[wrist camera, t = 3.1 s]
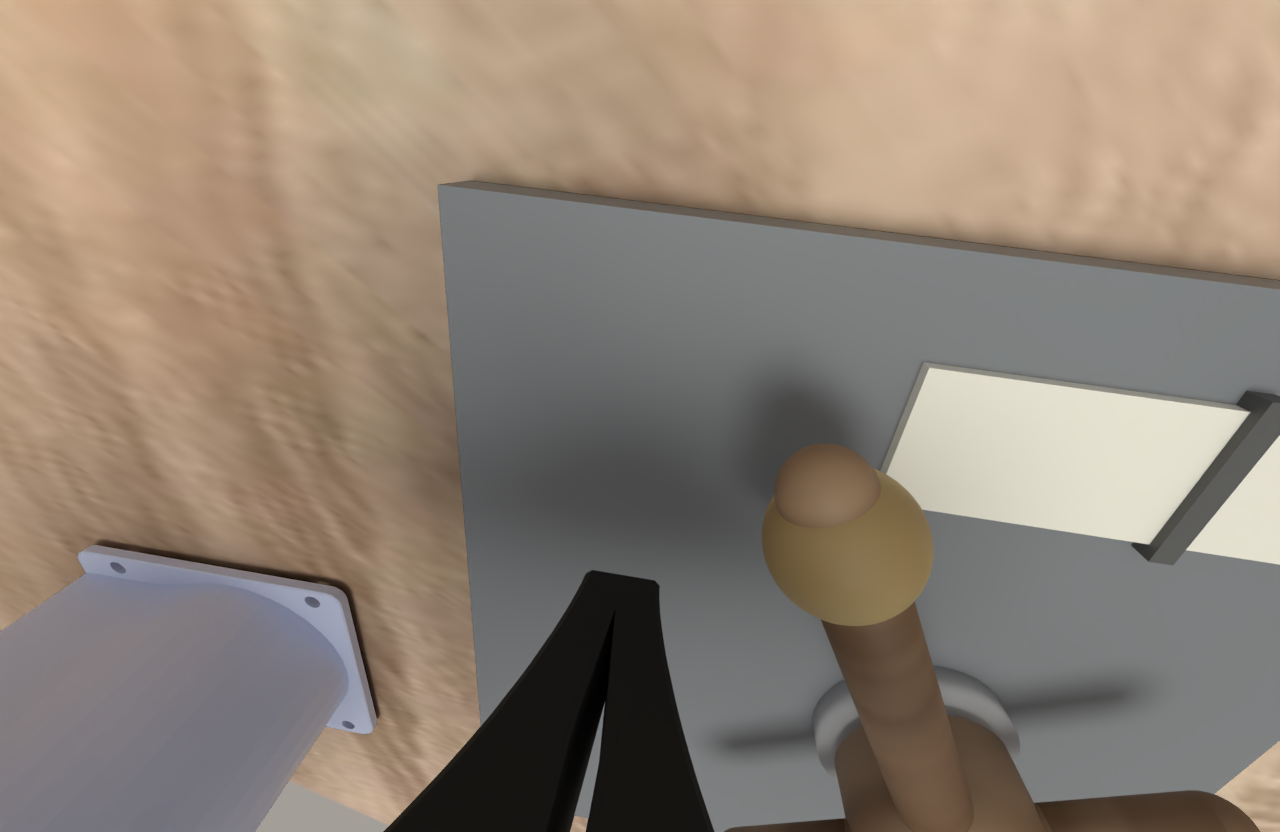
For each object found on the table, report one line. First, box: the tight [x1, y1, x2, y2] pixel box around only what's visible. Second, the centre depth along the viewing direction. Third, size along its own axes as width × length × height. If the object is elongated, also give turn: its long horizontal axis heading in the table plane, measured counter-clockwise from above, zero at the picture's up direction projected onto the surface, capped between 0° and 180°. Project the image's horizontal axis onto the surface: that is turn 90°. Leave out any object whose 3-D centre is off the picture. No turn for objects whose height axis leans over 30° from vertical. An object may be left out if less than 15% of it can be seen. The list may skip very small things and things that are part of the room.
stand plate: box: [438, 181, 1280, 832], centre depth 14 cm, size 22×22×2 cm
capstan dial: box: [724, 443, 1260, 832], centre depth 11 cm, size 18×12×3 cm
